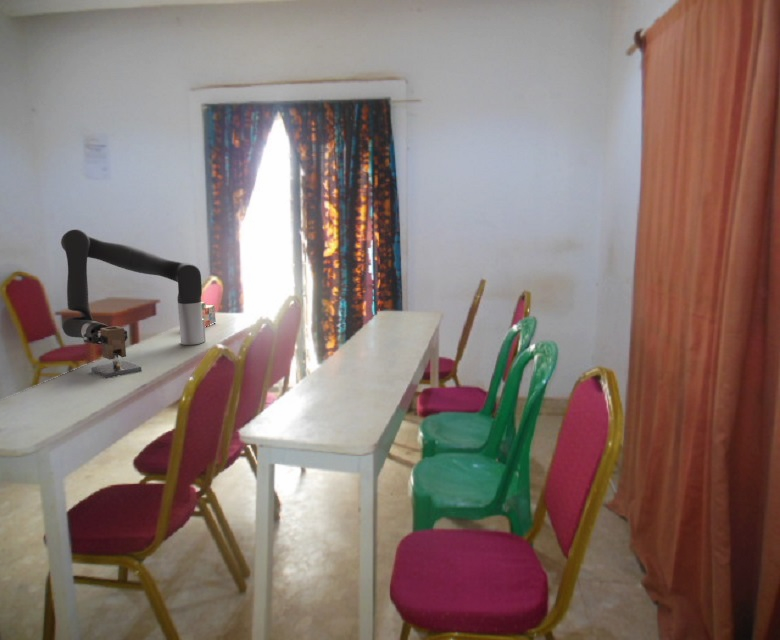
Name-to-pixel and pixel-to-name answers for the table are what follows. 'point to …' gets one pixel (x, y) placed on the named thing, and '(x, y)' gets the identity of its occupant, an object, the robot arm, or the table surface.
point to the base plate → (116, 368)
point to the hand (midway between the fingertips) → (116, 339)
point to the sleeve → (113, 342)
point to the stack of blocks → (208, 314)
